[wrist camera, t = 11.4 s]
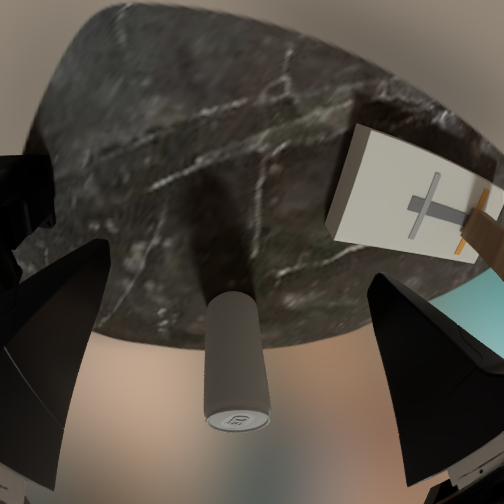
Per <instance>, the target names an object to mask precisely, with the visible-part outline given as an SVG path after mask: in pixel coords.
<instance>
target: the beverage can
mask: <svg viewBox="0 0 504 504" xmlns="http://www.w3.org/2000/svg"><path fill="white" fill-rule="evenodd" d="M204 373H205V374H204V415H205V417H206V424H207V426H209V427H210V428H212V429H214V430H217V431H220V432H226V433H245V432H251V431H255V430H258V429H261V428H263V427H265V426H267V425H268V424H269V423H270V416H269V415H270V413H271V404H270V396H269V389H268V383H267V376H266V369H265V363H264V357H263V349H262V342H261V335H260V327H259V319H258V311H257V306H256V303H255V301H254V300H253V299H252V298H251V297H250V296H248V295H247V294H244V293H242V292H237V291H228V292H224V293H222V294H220V295H218V296H217V297H215V298H214V299H212V300H211V302H210V303H209V304H208V307H207V316H206V339H205V371H204Z"/></svg>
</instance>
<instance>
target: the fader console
mask: <svg viewBox="0 0 504 504" xmlns="http://www.w3.org/2000/svg"><path fill="white" fill-rule="evenodd" d="M503 204H504V190H503V189H501V188H500V187H498V186H497V185H495V184H494V183H492V182H490V181H489V180H487V179H485V178H483V177H481V176H480V175H478V174H476V173H474V172H472V171H470V170H468V169H466V168H464V167H462V166H460V165H458V164H456V163H454V162H452V161H450V160H448V159H446V158H444V157H442V156H440V155H437V154H435V153H433V152H431V151H428V150H426V149H424V148H422V147H419V146H417V145H414V144H412V143H410V142H407V141H405V140H402V139H400V138H397V137H394V136H392V135H389V134H386V133H384V132H381V131H378V130H375V129H372V128H369V127H366V126H364V125H360V124H357V123H356V127H355V130H354V134H353V137H352V140H351V144H350V147H349V150H348V154H347V157H346V160H345V164H344V167H343V170H342V173H341V176H340V179H339V183H338V186H337V189H336V192H335V195H334V198H333V201H332V204H331V207H330V210H329V213H328V216H327V219H326V221H325V225H326V227H327V229H328V231H329V232H330V234H331V236H332V238H333V239H334V240H336V241H343V242H349V243H356V244H362V245H368V246H375V247H381V248H387V249H393V250H399V251H405V252H411V253H417V254H423V255H429V256H435V257H440V258H446V259H451V260H457V261H462V262H468V263H473V264H474V263H475V261H476V259H477V258H478V256H479V254H478V253H477V252H476V251H475V250H474V249H473V248H472V247H471V246H470V245H469V244H468V243H467V242H466V241H465V240H464V239H463V238H462V237H461V236H460V235H461V233H462V231H463V229H464V227H465V224H466V222H467V220H468V218H469V216H470V214H471V211H472V209H473V207H474V208H476V209H478V210H481V211H483V212H486V213H487V214H489V215H490V216H491V217H492V218H493V219H495V220H497V218H498V216H499V213H500V211H501V209H502V207H503Z"/></svg>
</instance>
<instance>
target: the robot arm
mask: <svg viewBox="0 0 504 504" xmlns="http://www.w3.org/2000/svg"><path fill="white" fill-rule="evenodd" d="M43 160H44V161H45V164H44V163H43ZM54 209H55V208H54V199H53V189H52V182H51V173H50V160H49V157H48V156H47V155H8V156H0V504H30V503H29V501H28V499H27V498H26V496H25V490H26V483H27V481H30V482H32V483H34V484H36V485H39V486H41V487H44V488H46V489H49V490H51V491H54V488H55V481H56V473H57V467H58V460H59V454H60V448H61V443H62V438H63V433H64V427H65V423H66V418H67V414H68V410H69V405H70V402H71V398H72V394H73V390H74V386H75V383H76V378H77V375H78V372H79V369H80V365H81V362H82V359H83V355H84V352H85V349H86V346H87V343H88V340H89V337H90V334H91V331H92V328H93V326H94V323H95V320H96V317H97V314H98V311H99V308H100V305H101V301H102V297H103V293H104V289H105V285H106V282H107V278H108V274H109V271H110V266H111V259H110V249H109V242H108V240H106V239H98V238H96V239H94V240H92V241H90V242H88V243H87V244H85V245H83V246H81V247H79V248H78V249H76V250H74V251H72V252H71V253H69V254H67V255H66V256H64V257H62V258H60V259H59V260H57V261H55V262H54V263H52V264H50V265H49V266H47V267H45V268H44V269H42V270H40V271H39V272H37V273H36V274H34V275H32V276H31V277H29V278H28V279H26V280H25V281H23V282H21V283H20V284H19V282H20V279H21V276H22V273H23V271H22V269H21V267H20V266H19V265H18V263H17V261H16V259H15V257H14V255H13V252H12V250H16V249H17V247H18V246H19V245H20V244H21V243H22V242H23V240H24V239H25V238H26V237H27V236H28V235H31V234H32V233H33V232H34V231H35V230H36V229H37V228H38V227H42V228H53V227H54V225H55V224H56V221H55V214H54ZM49 221H50V222H51V223H50V222H49ZM11 249H12V250H11ZM367 298H368V303H369V308H370V313H371V318H372V323H373V328H374V333H375V336H376V340H377V343H378V347H379V351H380V355H381V358H382V362H383V366H384V370H385V374H386V377H387V382H388V385H389V390H390V395H391V398H392V403H393V408H394V412H395V418H396V422H397V427H398V433H399V439H400V445H401V450H402V456H403V463H404V469H405V477H406V483H407V487H410V486H412V485H415V484H418V483H420V482H422V481H425V480H427V479H429V478H431V477H434V476H436V475H438V474H440V473H442V472H444V471H446V470H447V471H448V474H449V477H450V479H448V480H446V481H444V482H442V483H440V484H438V485H436V486H434V487H432V488H430V491H429V493H428V495H427V498H426V500H425V502H424V504H504V359H503V358H502V357H500V356H499V355H498V354H496V353H495V352H493V351H492V350H491V349H490V348H488V347H487V346H485V345H484V344H483V343H481V342H480V341H479V340H477V339H476V338H475V337H473V336H472V335H471V334H469V333H468V332H467V331H465V330H464V329H463V328H462V327H460V326H459V325H457V324H456V323H455V322H454V321H453V320H451V319H450V318H449V317H447V316H446V315H445V314H443V313H442V312H441V311H439V310H438V309H437V308H436V307H434V306H433V305H431V304H430V303H429V302H427V301H426V300H425V299H423V298H422V297H421V296H419V295H418V294H417V293H415V292H414V291H412V290H411V289H410V288H408V287H407V286H405V285H404V284H403V283H401V282H400V281H398V280H397V279H396V278H394V277H393V276H391V275H390V274H388V273H383V272H379V273H377V274H376V275H375V277H374V279H373V281H372V283H371V285H370V287H369V289H368V291H367Z"/></svg>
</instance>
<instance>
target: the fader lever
mask: <svg viewBox="0 0 504 504" xmlns="http://www.w3.org/2000/svg"><path fill="white" fill-rule="evenodd" d="M460 236H461V237H462V238H463V239H464V240H465V241H466V242H467V243H468V244H469V245H470V246H471V247H472V248H473V249H474V250H475V251H476V252H477V253H478V254H479V255H480V256H481V257H482V258H483V259H484V260H485V261H486V262H487V263H488V265H489V266H490V267H491V268H492V269H493V270H494V271H495V272H496V273H497V275H498V276H499V277H500V278H501V279H502V280H503V281H504V227H503V226H502V225H501V224H499V223H498V222H497V221H496V220H495V219H493V218H492V217H491V216H490V215H489V214H487V213H486V212H483V211H481V210H478V209H476V208H474V207H473V209H472V211H471V214H470V216H469V218H468V220H467V222H466V224H465V227H464V229H463V231H462V233H461V235H460Z"/></svg>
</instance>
